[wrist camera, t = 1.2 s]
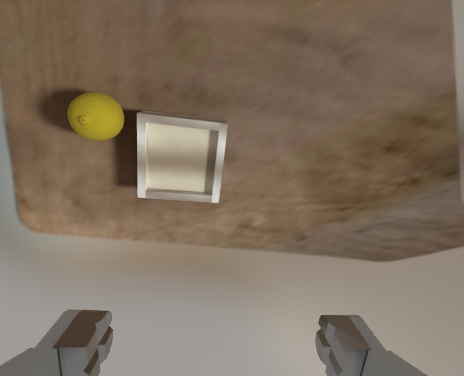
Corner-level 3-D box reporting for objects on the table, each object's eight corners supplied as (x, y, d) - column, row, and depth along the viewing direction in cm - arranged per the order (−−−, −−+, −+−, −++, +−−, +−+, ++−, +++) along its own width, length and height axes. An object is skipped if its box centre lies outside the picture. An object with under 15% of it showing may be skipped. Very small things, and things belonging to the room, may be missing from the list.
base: (144, 110, 33) (136, 112, 29) (224, 120, 34) (227, 123, 31) (144, 186, 37) (137, 197, 33) (216, 191, 38) (218, 202, 34)
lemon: (139, 123, 33) (121, 132, 26) (104, 141, 34) (77, 155, 26) (115, 84, 31) (88, 81, 24) (78, 104, 32) (40, 107, 24)
